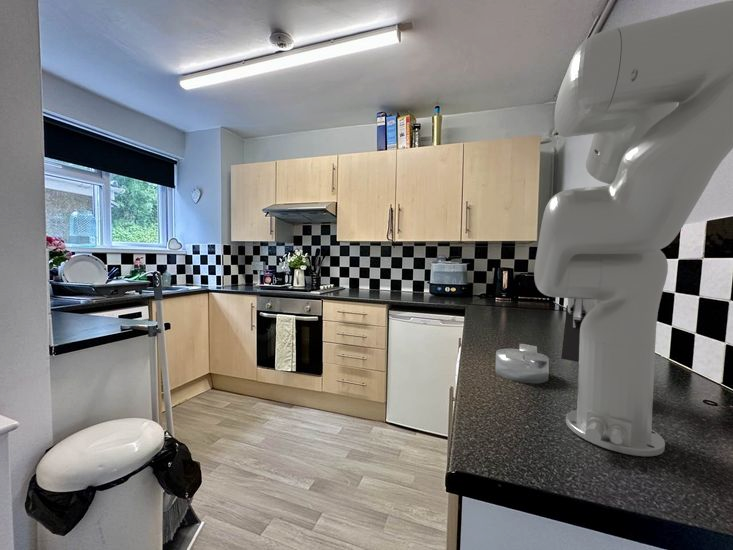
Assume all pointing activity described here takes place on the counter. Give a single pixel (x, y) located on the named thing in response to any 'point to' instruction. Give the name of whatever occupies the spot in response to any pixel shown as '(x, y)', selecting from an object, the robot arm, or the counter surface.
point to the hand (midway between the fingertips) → (581, 345)
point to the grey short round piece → (522, 364)
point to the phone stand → (571, 339)
